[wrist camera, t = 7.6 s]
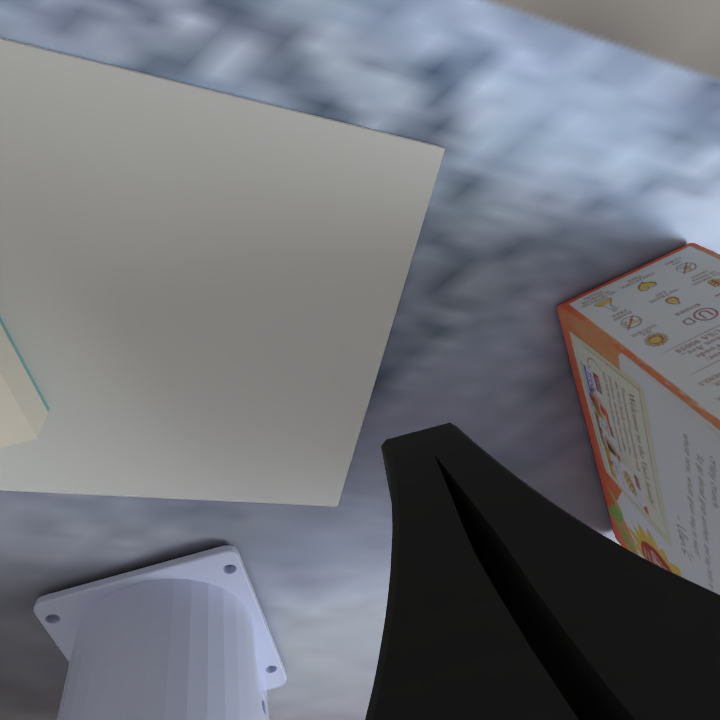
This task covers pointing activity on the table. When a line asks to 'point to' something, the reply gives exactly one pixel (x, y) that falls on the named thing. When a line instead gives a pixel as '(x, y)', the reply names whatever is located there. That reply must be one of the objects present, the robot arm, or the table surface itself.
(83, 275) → the mat
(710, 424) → the cracker box
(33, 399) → the tile
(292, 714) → the table surface
